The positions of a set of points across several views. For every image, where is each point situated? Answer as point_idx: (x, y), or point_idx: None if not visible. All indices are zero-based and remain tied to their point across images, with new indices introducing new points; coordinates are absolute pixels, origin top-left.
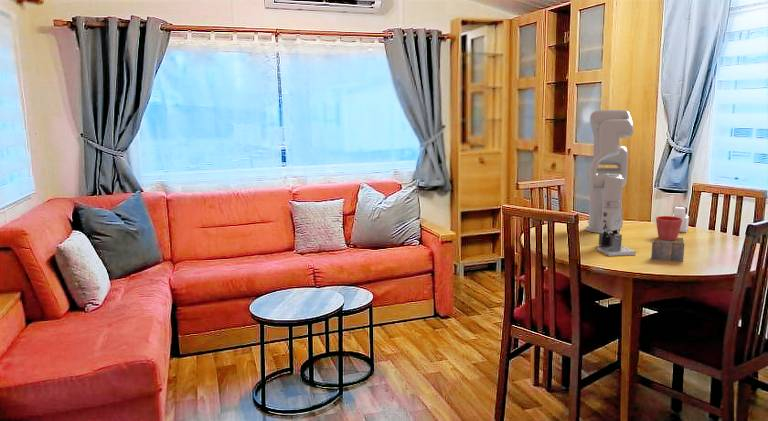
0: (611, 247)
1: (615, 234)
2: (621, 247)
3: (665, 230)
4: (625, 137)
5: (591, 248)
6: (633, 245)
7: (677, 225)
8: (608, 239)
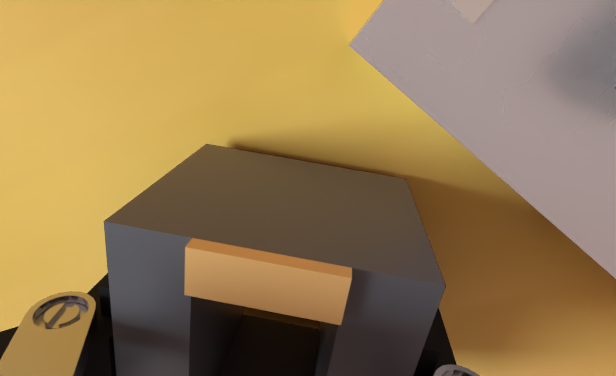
0: (604, 161)
1: (191, 326)
2: (506, 21)
3: None
4: None
5: (544, 365)
6: (5, 37)
7: None
8: None
